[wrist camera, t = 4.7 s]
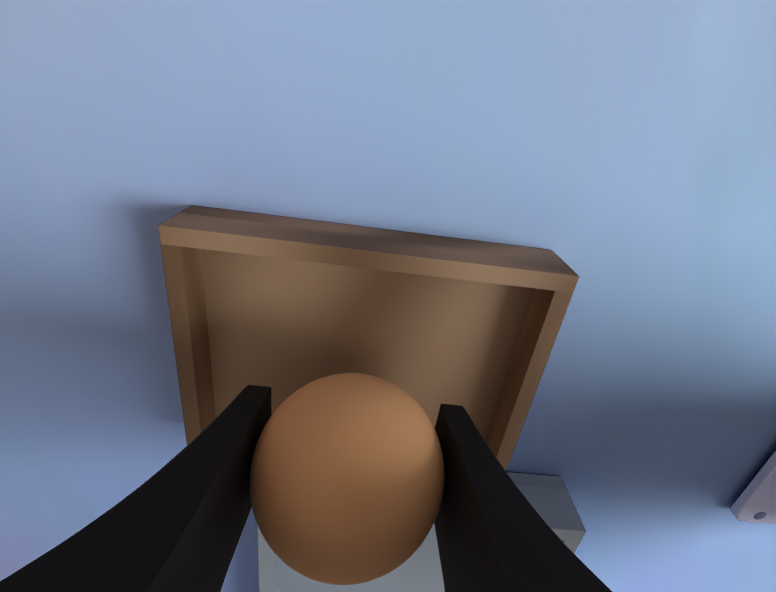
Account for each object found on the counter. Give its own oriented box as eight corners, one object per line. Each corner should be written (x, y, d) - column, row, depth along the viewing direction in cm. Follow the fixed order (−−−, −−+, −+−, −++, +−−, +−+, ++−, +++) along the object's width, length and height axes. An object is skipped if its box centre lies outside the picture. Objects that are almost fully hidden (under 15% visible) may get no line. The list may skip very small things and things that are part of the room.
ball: (447, 347, 11) (483, 499, 7) (420, 464, 13) (436, 636, 9) (276, 329, 11) (208, 477, 7) (276, 452, 13) (225, 623, 9)
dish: (561, 476, 17) (586, 531, 15) (491, 624, 23) (502, 680, 21) (273, 450, 16) (256, 504, 14) (273, 610, 22) (261, 666, 20)
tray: (551, 250, 13) (579, 276, 11) (483, 454, 17) (495, 497, 15) (192, 205, 12) (158, 225, 10) (212, 429, 16) (190, 472, 14)
